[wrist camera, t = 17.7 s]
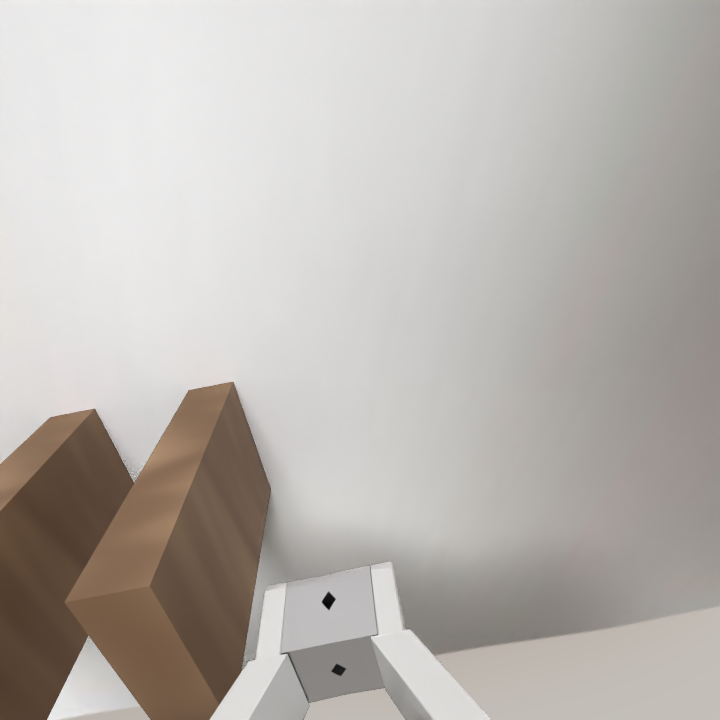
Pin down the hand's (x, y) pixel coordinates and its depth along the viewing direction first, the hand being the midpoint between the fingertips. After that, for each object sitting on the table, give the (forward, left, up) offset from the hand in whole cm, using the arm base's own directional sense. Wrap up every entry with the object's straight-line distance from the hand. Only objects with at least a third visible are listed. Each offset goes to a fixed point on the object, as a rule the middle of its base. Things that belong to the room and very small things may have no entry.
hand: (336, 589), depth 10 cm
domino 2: (+4, 0, -7) cm, 8 cm away
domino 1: (+9, 0, -7) cm, 11 cm away
